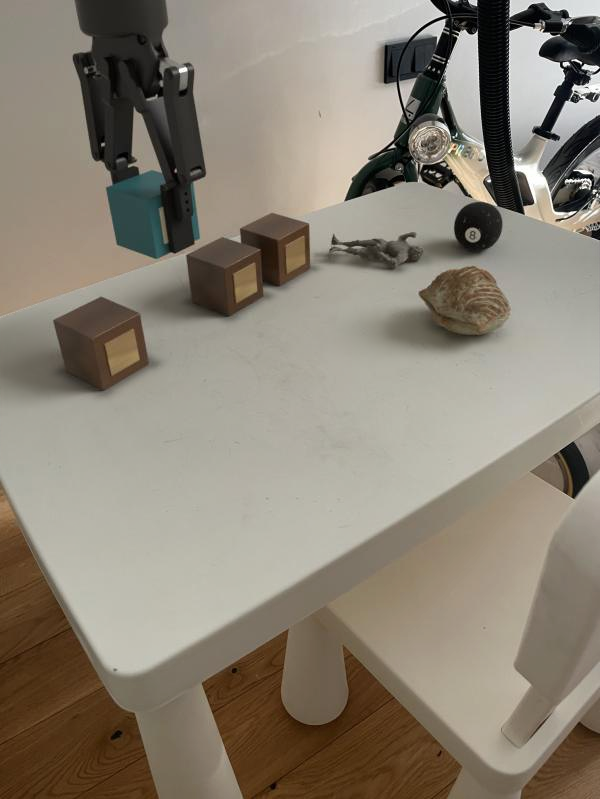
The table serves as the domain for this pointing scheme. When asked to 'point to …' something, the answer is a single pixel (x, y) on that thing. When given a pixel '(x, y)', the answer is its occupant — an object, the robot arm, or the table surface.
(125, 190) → the teal block
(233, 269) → the walnut block
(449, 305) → the seashell
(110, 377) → the walnut block
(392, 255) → the figurine
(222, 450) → the table surface
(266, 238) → the walnut block
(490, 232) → the billiard ball
